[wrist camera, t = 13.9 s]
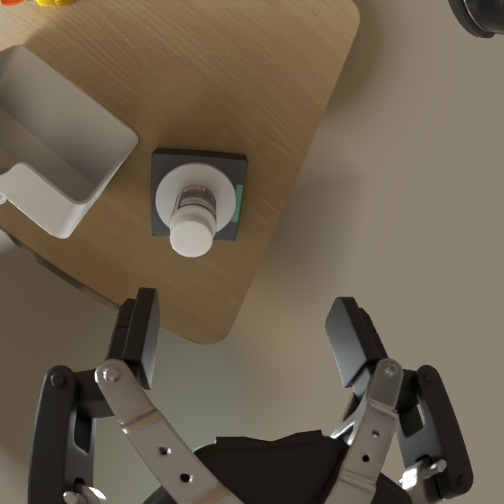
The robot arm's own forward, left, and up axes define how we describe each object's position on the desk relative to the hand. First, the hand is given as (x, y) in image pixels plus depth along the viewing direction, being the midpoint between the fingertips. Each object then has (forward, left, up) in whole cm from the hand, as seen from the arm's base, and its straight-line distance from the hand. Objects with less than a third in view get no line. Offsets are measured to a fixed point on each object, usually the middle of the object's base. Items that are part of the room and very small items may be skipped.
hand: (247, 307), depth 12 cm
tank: (+25, -2, -25) cm, 36 cm away
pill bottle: (+3, +6, -22) cm, 23 cm away
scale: (+3, +6, -25) cm, 26 cm away
